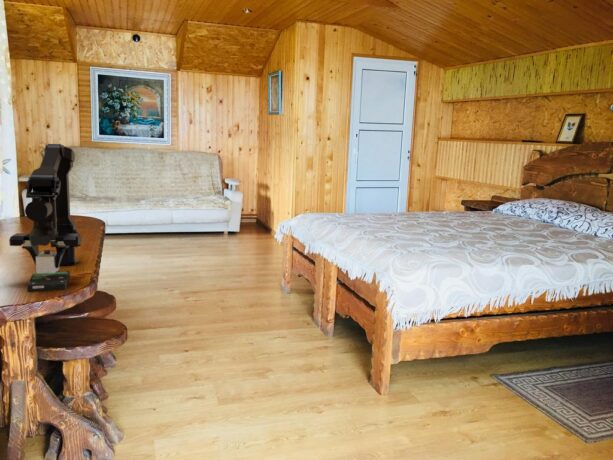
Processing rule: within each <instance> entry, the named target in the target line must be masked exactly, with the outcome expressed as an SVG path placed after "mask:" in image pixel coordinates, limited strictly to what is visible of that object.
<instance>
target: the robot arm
mask: <svg viewBox="0 0 613 460" xmlns="http://www.w3.org/2000/svg"><path fill="white" fill-rule="evenodd" d="M43 152H44V154H43V157H42V160H41V163H40V166H39V167H38V168H36V169H34V170H33V171H32V172H31V173H30V174H31V175H30V176H29V177H28V180H27V186H26V192H25V198H26V199H31V201H30V202H29V203H27V204H26V206H25V208H24V213H25V216H26V218H28V219H29V220H30V221H32V222H33V227H32V229H31V230H30V232H29V233H27V232H25V233H22V232H20V233H19V232H17V233H15V234H12V235H11V236H10V237H9V239H8V240H9V246H11V247H18V246H19V247H21V248H22V249H23V250H24V249H25V250H26V251H28V253H29V254H30V256H31V258H32V260H33V262H34V265H35V266H36V256H37V255H38V254H39V253H40V249H39V246H42V247H44V246H45V247H46V246H48V245H49V244H50V246H51V248H55V250H56V268H59V269H60V266H74V265H76V264H77V263H78V262H79V259H76V248H78V247H81V246H82V243H83V235H82V234H81V233H79V231H78V229H77V225H76V221H74V219H72V217H71V204H70V202H71V201H70V200H71V199H70V179H69V178H70V176H69V175H70V173H71V171H72V170H73V167H74V163H75V161H76V160H75V159H76V154H75V151H74V150H73V149H72V148H70V147H67V146H64V145H63V144H62V143H48V144H45V147H44V151H43Z"/></svg>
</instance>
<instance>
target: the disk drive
mask: <svg viewBox="0 0 613 460" xmlns="http://www.w3.org/2000/svg"><path fill="white" fill-rule="evenodd" d="M70 273H71V272H70V271H69V270H62V271H61V270H60V271H59V270H58V271H57V272H55V273H36V272H34V273H33V274H32V275H31V278H30V279H29V281H28V282H27V284H26V285H27V286H26V288H27V293H35V292H36V293H37V292H50V291H51V292H53V291H54V290H57V291H67V289H68V284H69V281H70V277H71V276H70V275H71V274H70Z"/></svg>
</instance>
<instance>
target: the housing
mask: <svg viewBox="0 0 613 460" xmlns="http://www.w3.org/2000/svg"><path fill="white" fill-rule="evenodd" d="M56 253H57V251H54V250H53V251H51V249H44V250H43V251H41V252H40V251H39V254H38V255H37V256H36V265H35V269H36V270H35V271H36V272H35V273H55V272H57V271H59V270H60V267H59V268H56Z"/></svg>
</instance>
